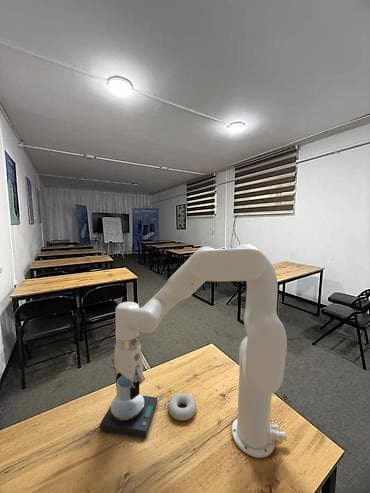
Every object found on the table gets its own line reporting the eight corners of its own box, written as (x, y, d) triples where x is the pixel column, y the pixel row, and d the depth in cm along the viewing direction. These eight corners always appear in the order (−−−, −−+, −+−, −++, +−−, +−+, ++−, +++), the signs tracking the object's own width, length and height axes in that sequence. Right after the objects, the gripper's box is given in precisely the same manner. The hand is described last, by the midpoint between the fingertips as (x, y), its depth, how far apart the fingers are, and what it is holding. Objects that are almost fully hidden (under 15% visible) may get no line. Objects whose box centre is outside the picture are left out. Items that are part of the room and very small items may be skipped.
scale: (157, 403, 77) (157, 396, 76) (145, 438, 64) (146, 430, 64) (118, 398, 79) (118, 391, 78) (99, 431, 66) (99, 423, 66)
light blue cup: (140, 386, 74) (140, 374, 73) (133, 402, 67) (133, 389, 66) (122, 384, 74) (122, 372, 74) (113, 399, 68) (113, 386, 67)
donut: (164, 420, 70) (193, 426, 68) (164, 411, 70) (193, 416, 68) (172, 397, 80) (198, 401, 78) (172, 388, 80) (198, 392, 78)
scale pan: (148, 395, 76) (148, 392, 76) (137, 422, 65) (137, 420, 65) (119, 391, 77) (119, 389, 77) (104, 417, 66) (104, 415, 66)
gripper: (154, 344, 67) (153, 396, 68) (121, 328, 77) (121, 373, 79) (135, 355, 61) (135, 412, 62) (102, 336, 71) (103, 385, 73)
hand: (127, 390), depth 71 cm, fingers closed on light blue cup, 7 cm apart
